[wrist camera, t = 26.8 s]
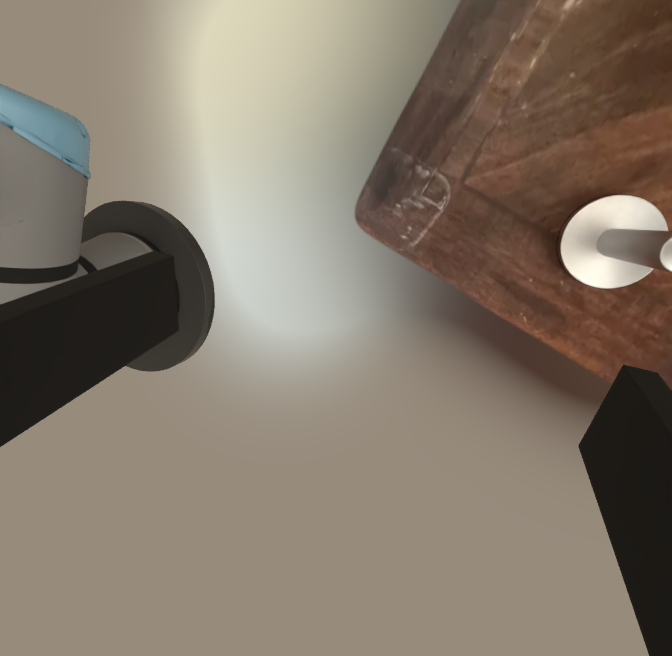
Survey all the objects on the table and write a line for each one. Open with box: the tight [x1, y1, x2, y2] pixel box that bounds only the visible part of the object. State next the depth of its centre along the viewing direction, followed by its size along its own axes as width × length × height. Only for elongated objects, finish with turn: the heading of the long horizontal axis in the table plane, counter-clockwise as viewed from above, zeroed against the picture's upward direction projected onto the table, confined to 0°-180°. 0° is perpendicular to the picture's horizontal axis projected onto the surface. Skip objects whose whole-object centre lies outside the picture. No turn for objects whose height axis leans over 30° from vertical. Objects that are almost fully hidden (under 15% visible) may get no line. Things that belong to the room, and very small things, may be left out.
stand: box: [557, 194, 672, 289], centre depth 29 cm, size 8×8×14 cm
